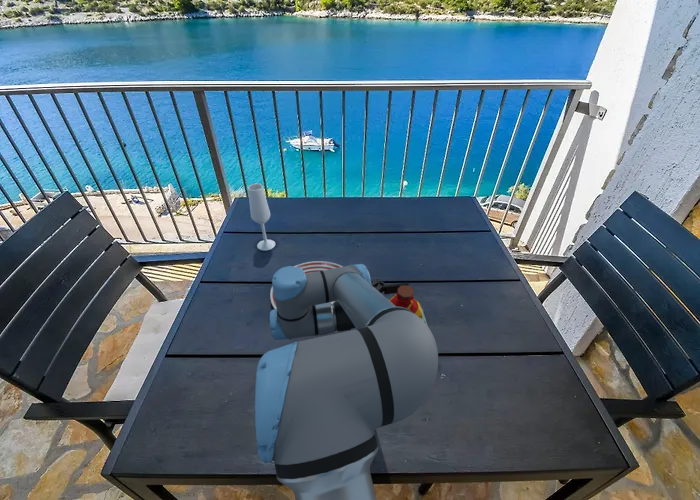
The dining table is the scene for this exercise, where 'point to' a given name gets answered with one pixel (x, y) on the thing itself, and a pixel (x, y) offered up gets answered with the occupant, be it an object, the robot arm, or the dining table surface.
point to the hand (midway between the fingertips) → (416, 305)
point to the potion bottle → (407, 300)
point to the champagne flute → (260, 213)
